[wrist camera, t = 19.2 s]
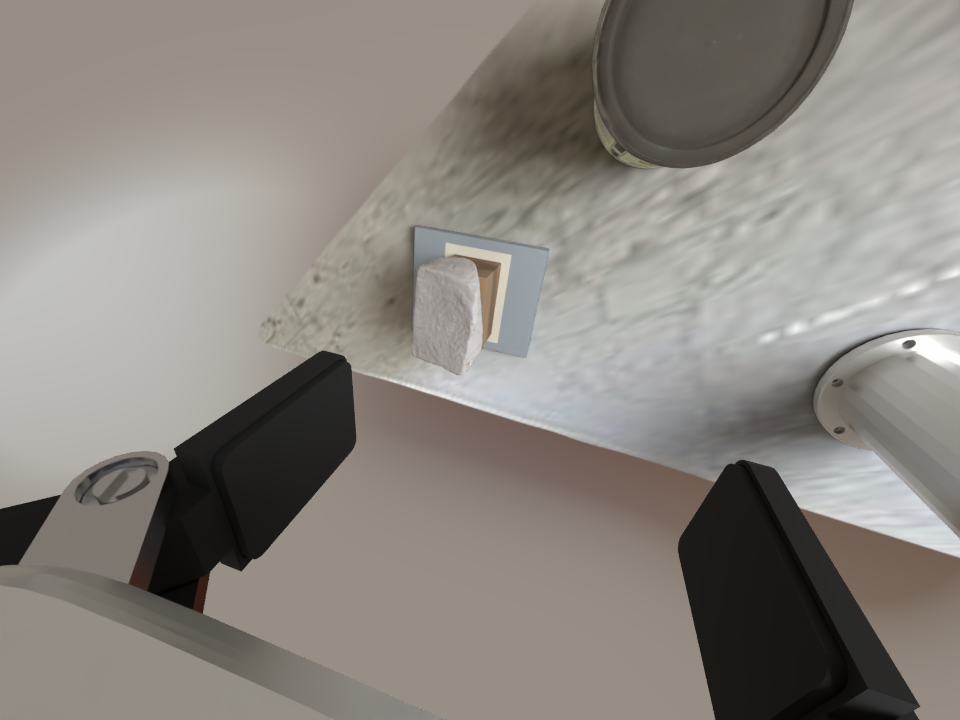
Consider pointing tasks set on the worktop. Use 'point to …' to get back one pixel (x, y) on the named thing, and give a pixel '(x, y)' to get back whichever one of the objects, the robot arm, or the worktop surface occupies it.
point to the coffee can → (706, 74)
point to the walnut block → (486, 291)
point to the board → (515, 282)
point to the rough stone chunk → (448, 314)
